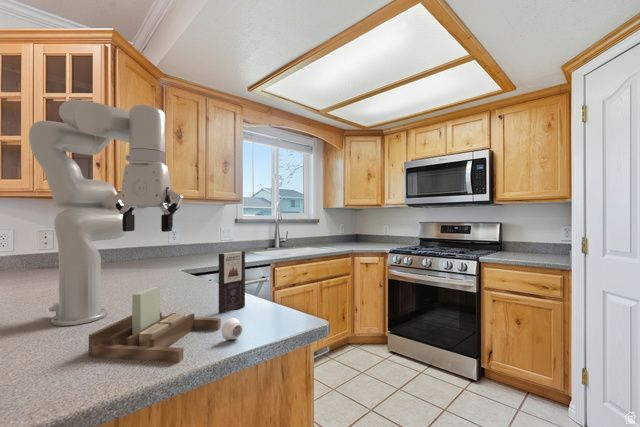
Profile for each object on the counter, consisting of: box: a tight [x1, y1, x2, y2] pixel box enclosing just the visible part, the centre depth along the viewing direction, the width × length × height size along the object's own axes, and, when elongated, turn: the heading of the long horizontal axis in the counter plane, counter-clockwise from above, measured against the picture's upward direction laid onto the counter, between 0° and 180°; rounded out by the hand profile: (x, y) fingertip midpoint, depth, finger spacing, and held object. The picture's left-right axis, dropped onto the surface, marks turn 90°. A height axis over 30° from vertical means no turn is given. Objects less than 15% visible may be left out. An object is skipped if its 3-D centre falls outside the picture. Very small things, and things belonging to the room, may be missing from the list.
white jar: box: [221, 317, 243, 341], centre depth 73 cm, size 5×3×5 cm, turn 142°
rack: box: [88, 312, 222, 363], centre depth 72 cm, size 20×20×5 cm
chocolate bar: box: [218, 250, 246, 314], centre depth 97 cm, size 9×1×18 cm, turn 140°
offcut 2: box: [160, 313, 186, 327], centre depth 76 cm, size 3×6×4 cm, turn 174°
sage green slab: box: [131, 286, 161, 335], centre depth 73 cm, size 2×7×12 cm, turn 174°
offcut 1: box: [139, 324, 169, 346], centre depth 69 cm, size 3×6×4 cm, turn 174°
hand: (147, 231), depth 73 cm, fingers open, 9 cm apart
